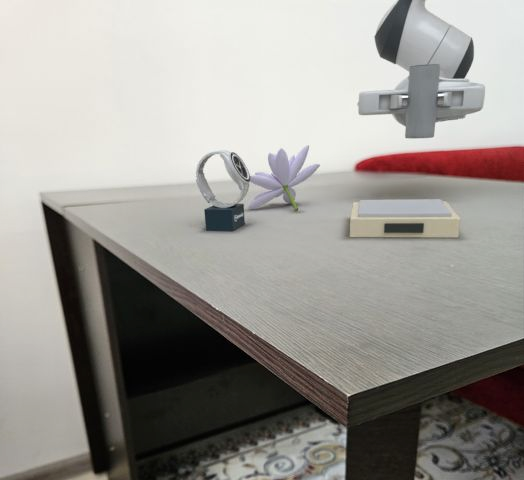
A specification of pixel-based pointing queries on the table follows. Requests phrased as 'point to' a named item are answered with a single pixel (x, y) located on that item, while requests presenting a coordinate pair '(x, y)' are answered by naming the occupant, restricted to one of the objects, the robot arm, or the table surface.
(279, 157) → the water lily
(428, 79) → the grey tall cylinder
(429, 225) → the scale
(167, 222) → the table surface
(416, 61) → the robot arm
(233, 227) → the watch
